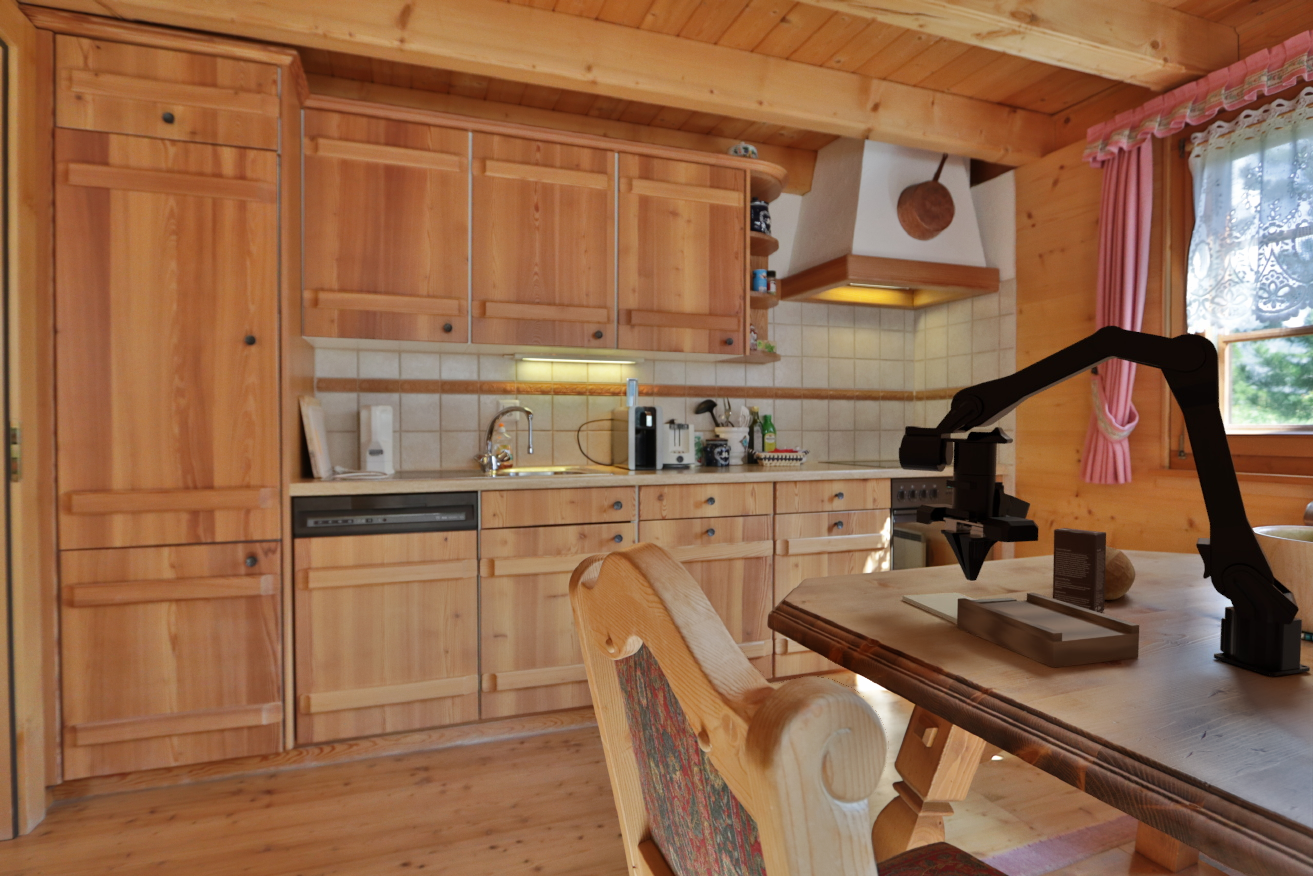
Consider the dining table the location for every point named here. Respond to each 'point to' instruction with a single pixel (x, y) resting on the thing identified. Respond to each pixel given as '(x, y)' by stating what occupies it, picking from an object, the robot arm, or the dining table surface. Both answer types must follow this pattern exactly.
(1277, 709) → the dining table surface
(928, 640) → the dining table surface
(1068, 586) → the box
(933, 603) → the cover plate
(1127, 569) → the bread roll
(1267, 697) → the dining table surface
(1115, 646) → the walnut box
